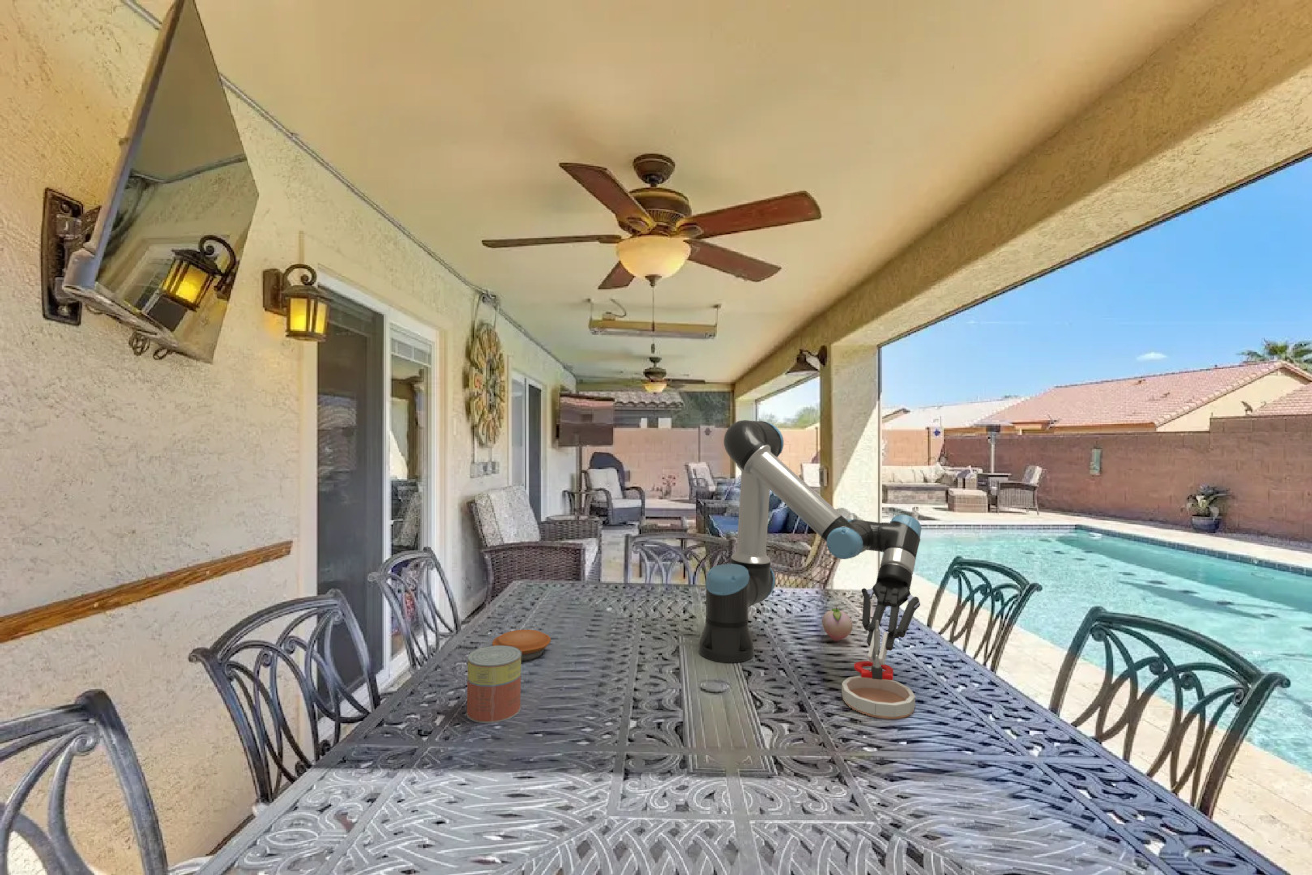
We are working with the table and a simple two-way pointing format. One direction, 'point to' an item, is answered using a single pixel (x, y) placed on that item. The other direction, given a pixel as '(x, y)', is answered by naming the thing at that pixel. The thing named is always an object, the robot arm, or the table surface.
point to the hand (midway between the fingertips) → (876, 660)
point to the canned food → (493, 684)
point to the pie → (525, 642)
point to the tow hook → (875, 661)
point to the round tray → (878, 697)
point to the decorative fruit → (837, 624)
